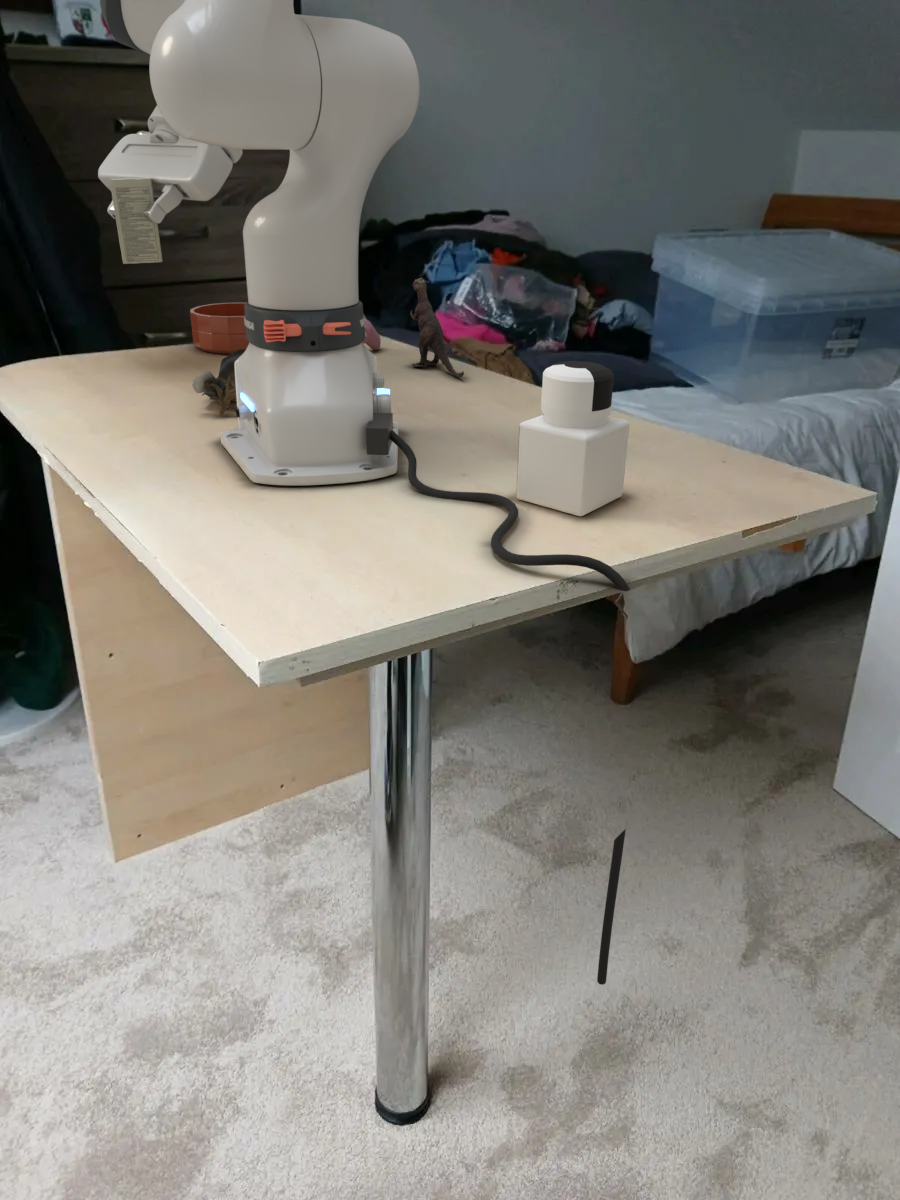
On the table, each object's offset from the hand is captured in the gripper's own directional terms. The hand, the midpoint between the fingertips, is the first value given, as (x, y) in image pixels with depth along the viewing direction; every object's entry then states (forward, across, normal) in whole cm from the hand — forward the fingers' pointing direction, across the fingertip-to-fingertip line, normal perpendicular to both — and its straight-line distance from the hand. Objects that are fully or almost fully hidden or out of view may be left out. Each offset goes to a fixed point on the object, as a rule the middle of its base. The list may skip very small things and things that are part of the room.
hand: (132, 217), depth 120 cm
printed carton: (+4, 0, +4) cm, 6 cm away
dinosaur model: (-4, +31, +32) cm, 44 cm away
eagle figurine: (+18, +23, +9) cm, 31 cm away
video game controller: (-5, +11, +33) cm, 36 cm away
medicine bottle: (+20, +71, +7) cm, 74 cm away
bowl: (0, -4, +28) cm, 28 cm away
